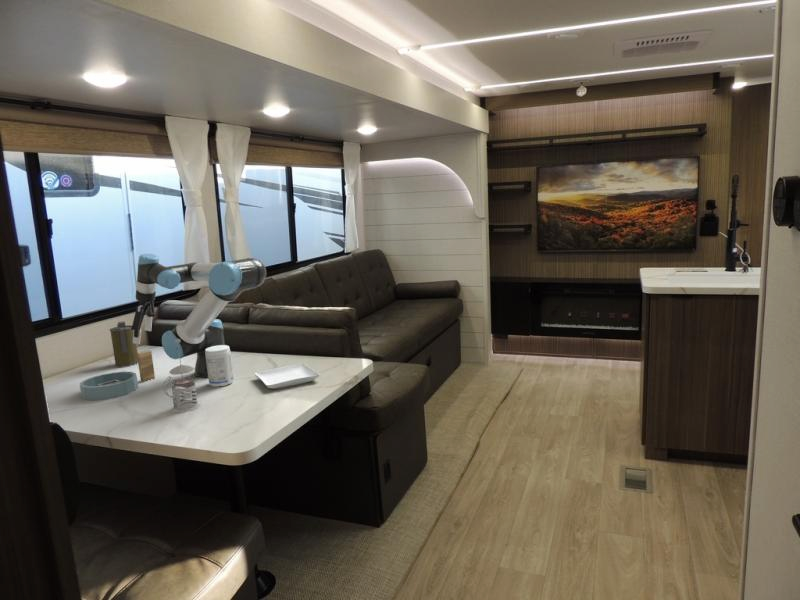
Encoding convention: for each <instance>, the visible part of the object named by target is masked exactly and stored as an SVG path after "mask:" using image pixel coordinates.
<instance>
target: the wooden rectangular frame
mask: <svg viewBox="0 0 800 600" xmlns="http://www.w3.org/2000/svg"><path fill="white" fill-rule="evenodd" d="M137 358H138V364H137V365H138V371H139V372H138V373H139V378H140V382H142V381H143V383H145V382H144V381H146V382H148V380H149V381H151V379H153V380H155V379H156V376H155V368H154V362H153V361H154V360H153V352H152V350H145V351H141V352H138V353H137ZM154 378H155V379H154Z"/></svg>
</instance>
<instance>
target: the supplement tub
mask: <svg viewBox="0 0 800 600" xmlns="http://www.w3.org/2000/svg"><path fill="white" fill-rule="evenodd" d="M230 348H231V347H230V346H229V345H227V344H225V345H218V346H212V347H209V348H207V349H205V356H206V364H207V371H208V377H207V378H208V383H209V386H211V387H213V388H218V387H219V386H221V387H225V385H226V386H229V385H231V384H233V383H234V380H235V378H234V372H233V363H232V362H233V361H232V354H231V349H230ZM228 384H229V385H228Z"/></svg>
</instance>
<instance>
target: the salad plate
mask: <svg viewBox="0 0 800 600" xmlns="http://www.w3.org/2000/svg"><path fill="white" fill-rule="evenodd" d="M254 376H255V377H256V378H258V379H259V380H260V382H261V381H262V383H263V384H264V385H265V386H266V388H269V389H275V390H276V389H282V388H287V387H288V388H289V387H293V386H297V385H303V384H307V383H309V382H311V381H314V380H316V379H318V378H319V376H320V373H319V372H318V371H315V370H314V369H313V368H311V367H310V366H309V365H307V364H306V363H299V364H298V363H297V364H294V365H293V364H292V365H287V366H280V367H275V368H270V369H267V370H262V371H257V372H254Z"/></svg>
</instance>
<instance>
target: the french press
mask: <svg viewBox="0 0 800 600" xmlns="http://www.w3.org/2000/svg"><path fill="white" fill-rule="evenodd" d="M178 342H181V341H180V339H176V340H175V343H178ZM178 350H179V346H178ZM179 359H181V358H180V353H179ZM179 364H180V365H177V366H174V367H173V368H172V369H170V370H169V371H168V372H169V374H170V375H181V378H178V379H176V380H174V378H173V377H172V376H168V377H167V378H165V380H164V382H163V386H162V388H163V392H164V394H165V396H168V397H170V398H172V403H173V407H172V408H171V411H172V413H187V412H192V411H195V410H197V409H199V408H200V407H201V406H202V405H201V403H199V402H198V397H197V390H196V383H195V382H194V378H193V377H192V378H191V377H185V378H184V377H183V374H188V373H190V372H193V371H194V370H195V367H193V366H190V365H187V364H182V361H181V360H179ZM169 380H170V381H171V383H172V386H171V391H172V395H170V394H169V393H168V391H167V384H168V382H169Z"/></svg>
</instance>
